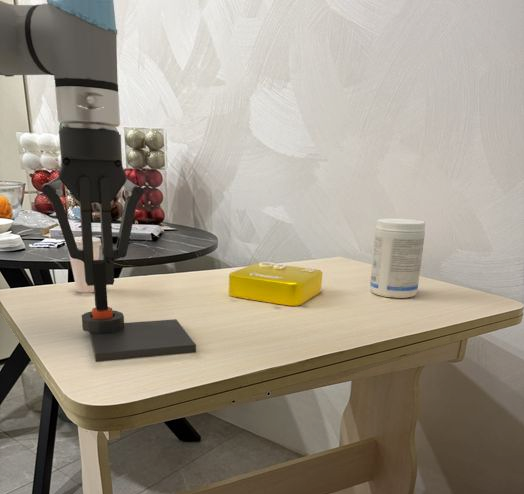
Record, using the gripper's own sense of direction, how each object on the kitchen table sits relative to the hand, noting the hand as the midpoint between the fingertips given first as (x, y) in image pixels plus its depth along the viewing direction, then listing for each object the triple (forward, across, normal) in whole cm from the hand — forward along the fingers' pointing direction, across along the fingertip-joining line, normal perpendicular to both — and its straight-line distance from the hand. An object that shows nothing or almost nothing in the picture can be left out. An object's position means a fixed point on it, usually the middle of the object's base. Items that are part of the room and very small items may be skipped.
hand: (101, 307), depth 74 cm
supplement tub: (+4, +59, +12) cm, 60 cm away
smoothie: (+5, 0, +27) cm, 28 cm away
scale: (+4, +5, -5) cm, 8 cm away
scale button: (+2, 0, 0) cm, 2 cm away
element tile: (+4, +35, +17) cm, 39 cm away
